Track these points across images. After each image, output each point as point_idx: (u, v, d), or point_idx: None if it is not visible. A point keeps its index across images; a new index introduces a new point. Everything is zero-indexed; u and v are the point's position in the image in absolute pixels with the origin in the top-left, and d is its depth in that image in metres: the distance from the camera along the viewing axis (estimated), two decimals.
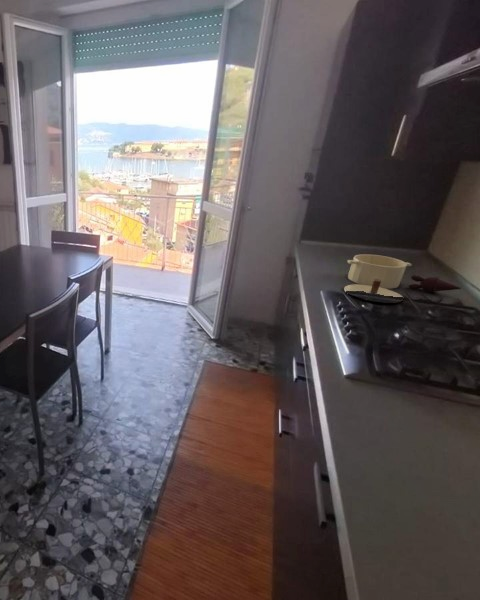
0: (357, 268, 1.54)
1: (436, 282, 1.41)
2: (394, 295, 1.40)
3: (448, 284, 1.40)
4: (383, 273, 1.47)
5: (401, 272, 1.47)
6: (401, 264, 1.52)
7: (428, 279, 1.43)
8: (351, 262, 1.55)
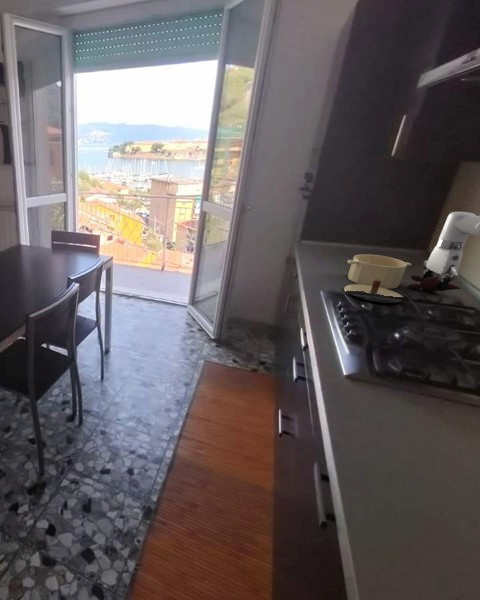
0: (357, 268, 1.54)
1: (436, 282, 1.41)
2: (394, 295, 1.40)
3: (448, 284, 1.40)
4: (383, 273, 1.47)
5: (401, 272, 1.47)
6: (401, 264, 1.52)
7: (428, 279, 1.44)
8: (351, 262, 1.55)
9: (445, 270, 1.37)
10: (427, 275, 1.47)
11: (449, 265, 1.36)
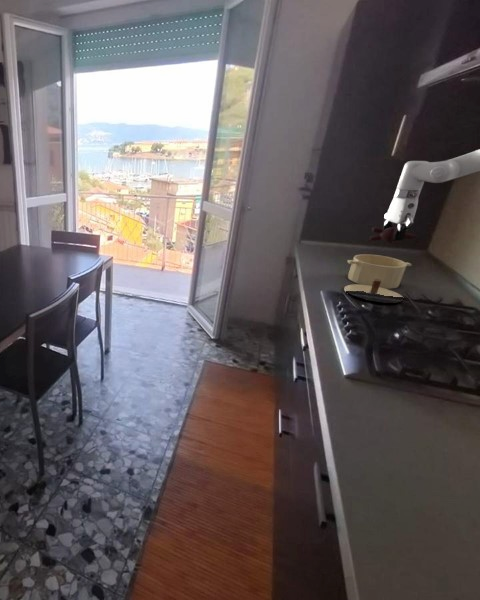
0: (357, 268, 1.54)
1: (394, 232, 1.45)
2: (394, 295, 1.40)
3: (405, 233, 1.44)
4: (383, 273, 1.47)
5: (401, 272, 1.47)
6: (401, 264, 1.52)
7: (387, 229, 1.48)
8: (351, 262, 1.55)
9: (402, 218, 1.41)
10: (387, 227, 1.51)
11: (405, 213, 1.40)
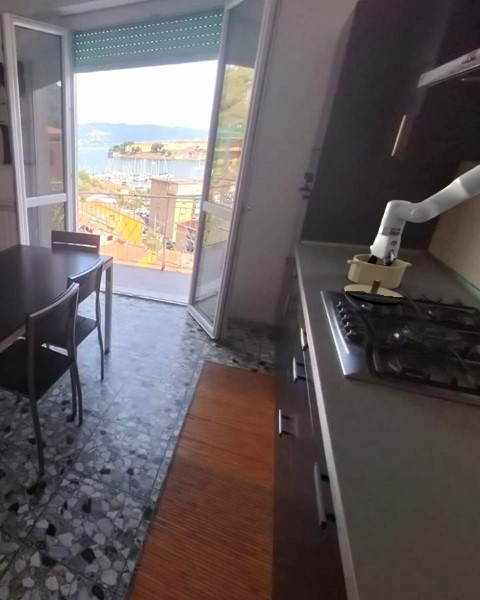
0: (357, 268, 1.54)
1: None
2: (394, 295, 1.40)
3: None
4: (383, 273, 1.47)
5: (401, 272, 1.47)
6: (401, 264, 1.52)
7: None
8: (351, 262, 1.55)
9: (385, 254, 1.48)
10: (372, 259, 1.58)
11: (389, 250, 1.47)
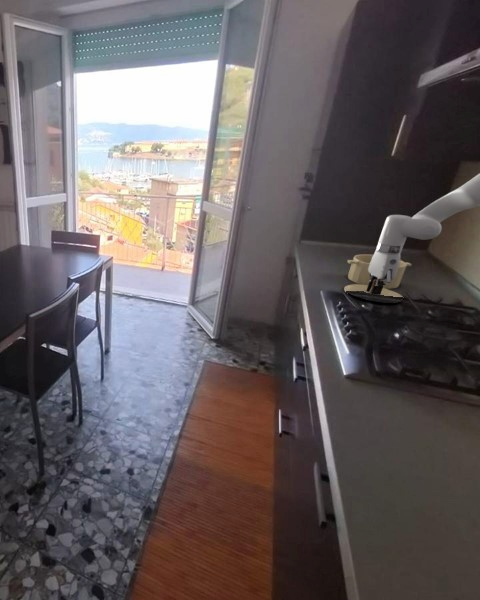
0: (357, 268, 1.54)
1: None
2: (394, 295, 1.40)
3: None
4: None
5: (401, 272, 1.47)
6: (401, 264, 1.52)
7: None
8: (351, 262, 1.55)
9: (383, 274, 1.34)
10: None
11: (387, 269, 1.33)
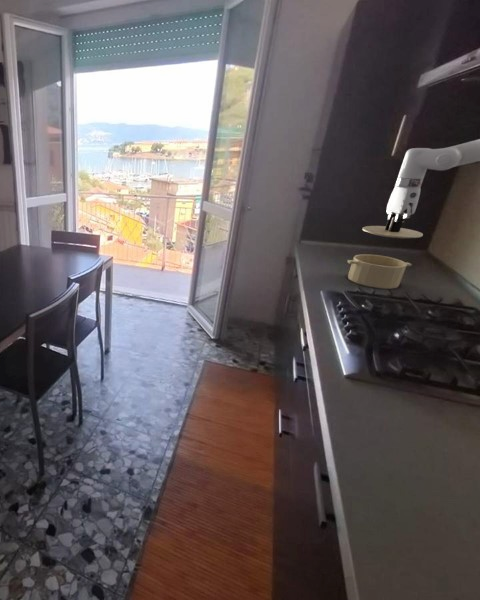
0: (357, 268, 1.54)
1: None
2: (413, 232, 1.41)
3: None
4: (383, 273, 1.47)
5: (401, 272, 1.47)
6: (401, 264, 1.52)
7: None
8: (351, 262, 1.55)
9: (403, 209, 1.35)
10: None
11: (407, 203, 1.34)
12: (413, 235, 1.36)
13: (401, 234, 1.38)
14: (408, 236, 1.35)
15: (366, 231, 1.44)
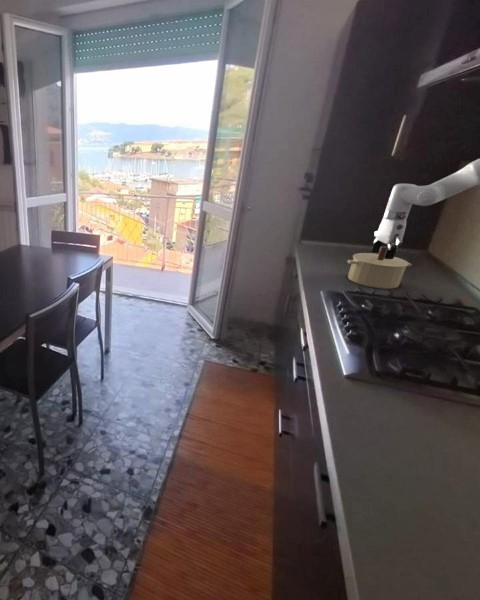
0: (357, 268, 1.54)
1: None
2: (400, 261, 1.51)
3: None
4: (383, 273, 1.47)
5: (401, 272, 1.47)
6: None
7: None
8: (351, 262, 1.55)
9: (391, 239, 1.45)
10: (377, 244, 1.55)
11: (394, 234, 1.44)
12: (399, 264, 1.46)
13: (388, 263, 1.48)
14: (394, 266, 1.45)
15: (356, 259, 1.54)
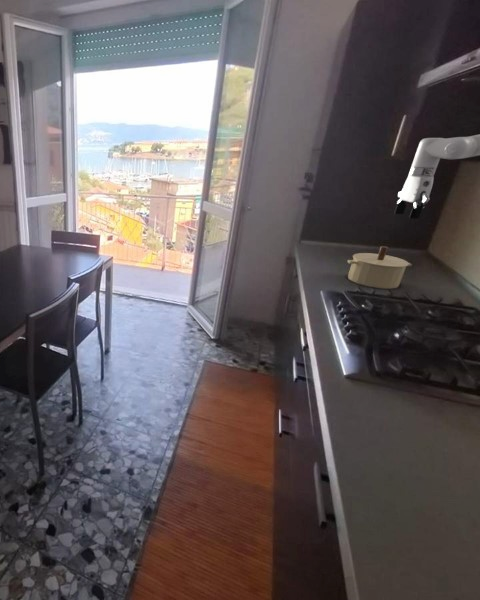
0: (357, 268, 1.54)
1: None
2: (400, 261, 1.51)
3: None
4: (383, 273, 1.47)
5: (401, 272, 1.47)
6: None
7: None
8: (351, 262, 1.55)
9: (417, 197, 1.39)
10: (400, 205, 1.49)
11: (420, 191, 1.38)
12: (399, 264, 1.46)
13: (388, 263, 1.48)
14: (394, 266, 1.45)
15: (356, 259, 1.54)
